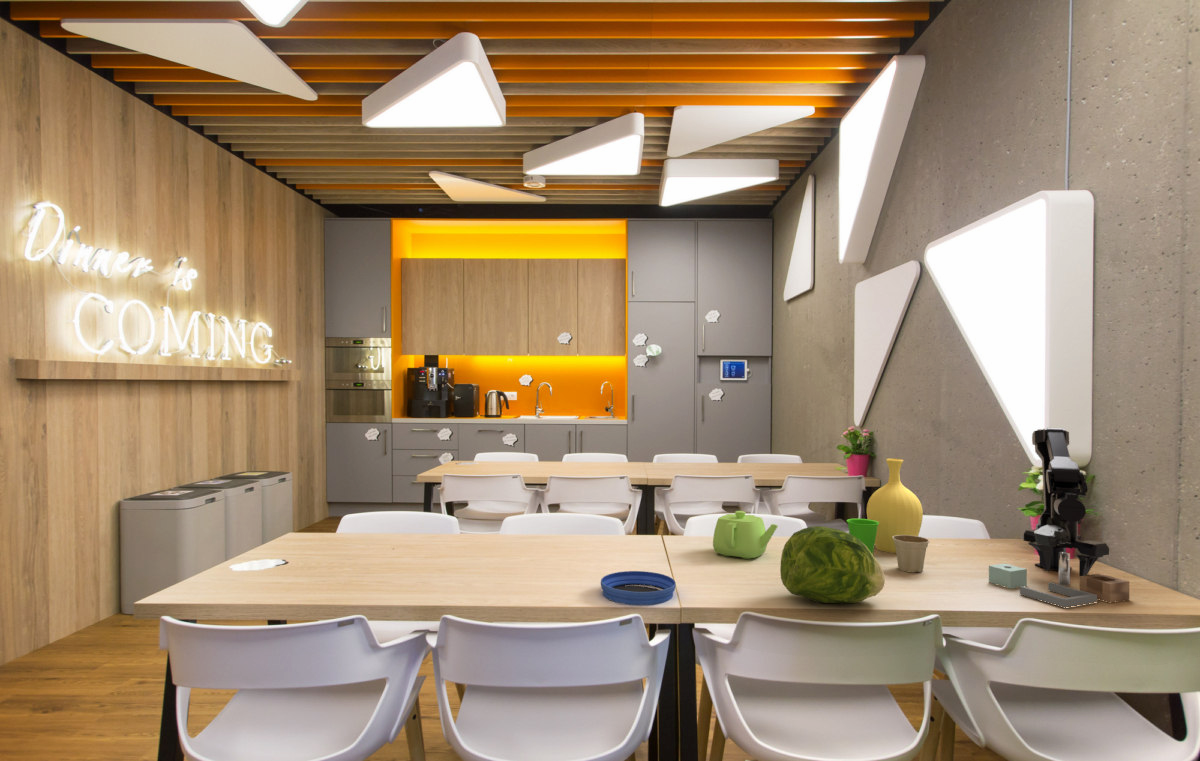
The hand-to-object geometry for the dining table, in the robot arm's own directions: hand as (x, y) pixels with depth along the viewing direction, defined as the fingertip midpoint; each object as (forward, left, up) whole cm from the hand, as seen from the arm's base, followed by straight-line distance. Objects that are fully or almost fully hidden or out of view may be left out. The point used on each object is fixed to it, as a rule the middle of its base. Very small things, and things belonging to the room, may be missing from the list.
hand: (1064, 575), depth 175 cm
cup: (+31, -38, -2) cm, 49 cm away
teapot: (+61, -53, -2) cm, 81 cm away
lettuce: (+66, -10, -2) cm, 67 cm away
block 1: (+14, -5, -2) cm, 15 cm away
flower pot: (+27, -24, -2) cm, 36 cm away
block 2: (+2, +11, -2) cm, 11 cm away
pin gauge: (0, 0, -2) cm, 2 cm away
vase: (+13, -44, -2) cm, 46 cm away
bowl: (+107, -30, -3) cm, 111 cm away
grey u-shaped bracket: (+14, +8, -2) cm, 16 cm away
